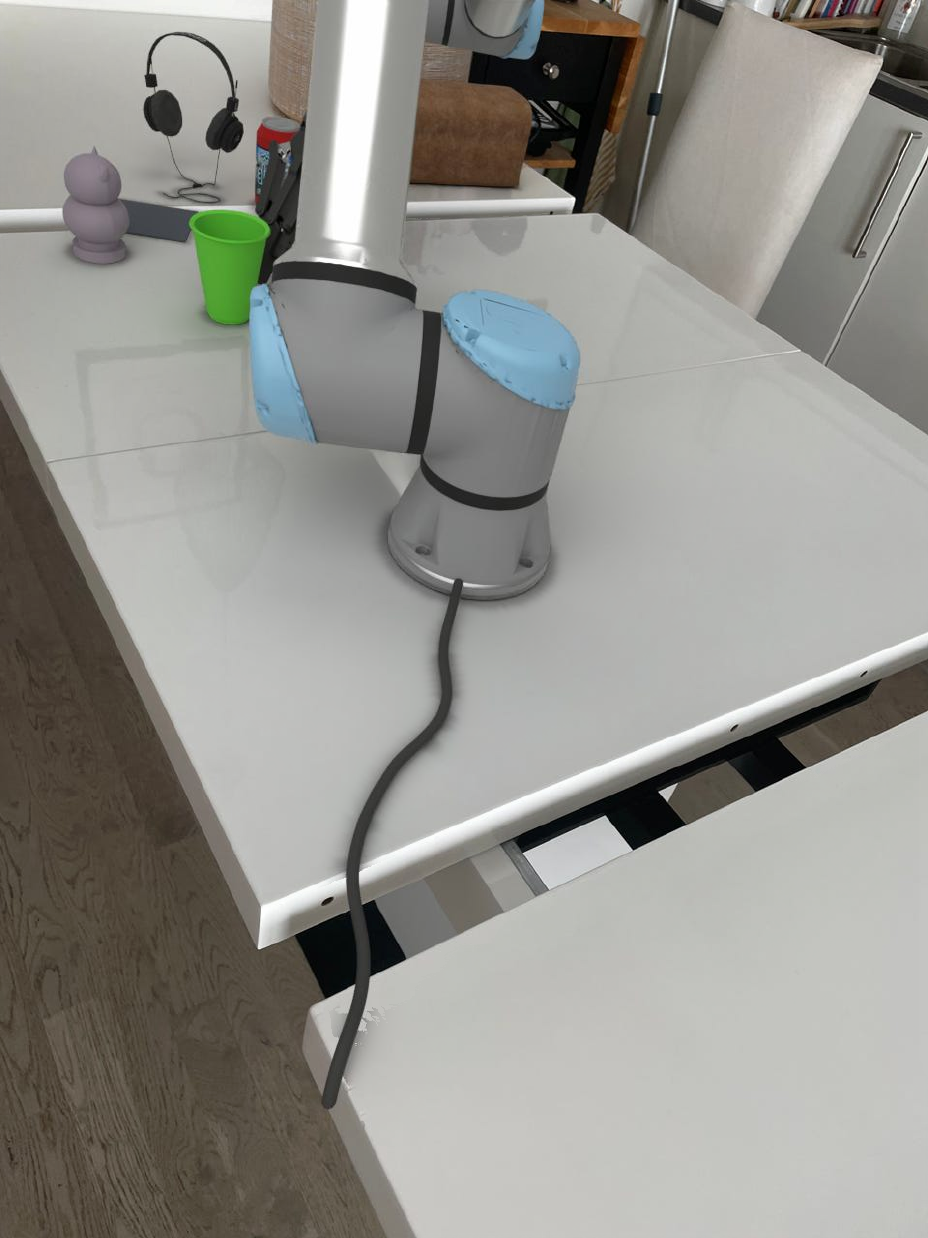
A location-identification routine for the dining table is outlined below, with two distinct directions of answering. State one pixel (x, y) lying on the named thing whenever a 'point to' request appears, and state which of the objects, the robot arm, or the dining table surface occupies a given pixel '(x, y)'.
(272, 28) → the planter
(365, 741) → the dining table surface
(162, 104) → the headphones
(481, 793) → the dining table surface
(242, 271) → the cup
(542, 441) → the robot arm
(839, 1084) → the dining table surface
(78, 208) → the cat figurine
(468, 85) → the bread
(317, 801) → the dining table surface
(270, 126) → the beverage can
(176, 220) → the placemat
